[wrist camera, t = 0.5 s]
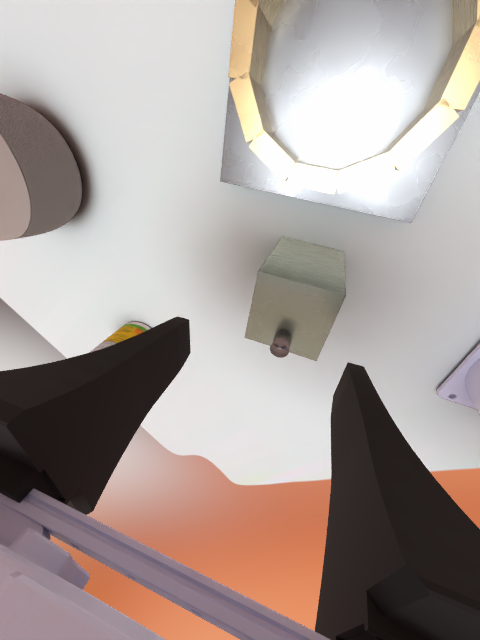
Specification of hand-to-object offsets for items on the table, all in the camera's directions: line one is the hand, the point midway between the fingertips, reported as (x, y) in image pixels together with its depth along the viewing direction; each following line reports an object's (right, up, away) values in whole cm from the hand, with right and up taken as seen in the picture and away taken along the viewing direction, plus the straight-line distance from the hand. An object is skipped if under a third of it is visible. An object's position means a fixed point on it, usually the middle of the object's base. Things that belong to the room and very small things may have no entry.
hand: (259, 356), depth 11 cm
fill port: (+5, +14, +2) cm, 15 cm away
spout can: (+4, +5, +8) cm, 10 cm away
